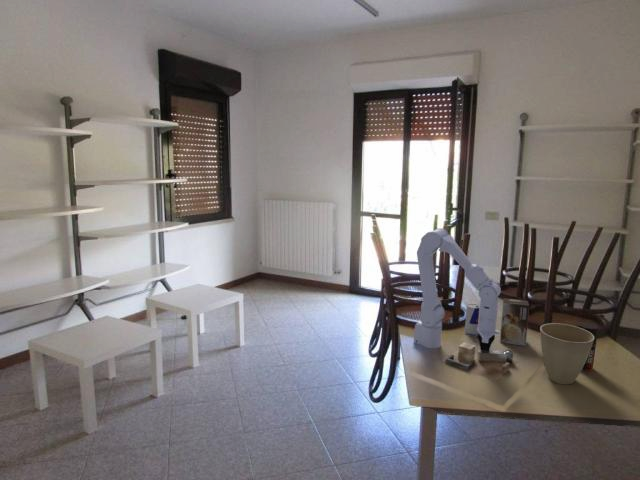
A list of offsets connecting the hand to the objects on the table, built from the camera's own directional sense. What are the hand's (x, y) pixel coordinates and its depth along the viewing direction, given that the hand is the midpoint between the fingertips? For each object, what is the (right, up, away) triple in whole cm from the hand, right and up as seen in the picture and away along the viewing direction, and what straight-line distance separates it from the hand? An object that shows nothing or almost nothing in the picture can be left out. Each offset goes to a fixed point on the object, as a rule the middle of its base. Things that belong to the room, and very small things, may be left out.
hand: (484, 354), depth 152 cm
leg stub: (-7, -1, -1) cm, 7 cm away
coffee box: (+17, 0, +17) cm, 24 cm away
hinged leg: (+3, -2, -2) cm, 4 cm away
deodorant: (+32, -4, -3) cm, 32 cm away
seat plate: (-3, -3, -2) cm, 5 cm away
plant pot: (+20, -5, -11) cm, 24 cm away
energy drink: (+4, +2, +23) cm, 23 cm away
